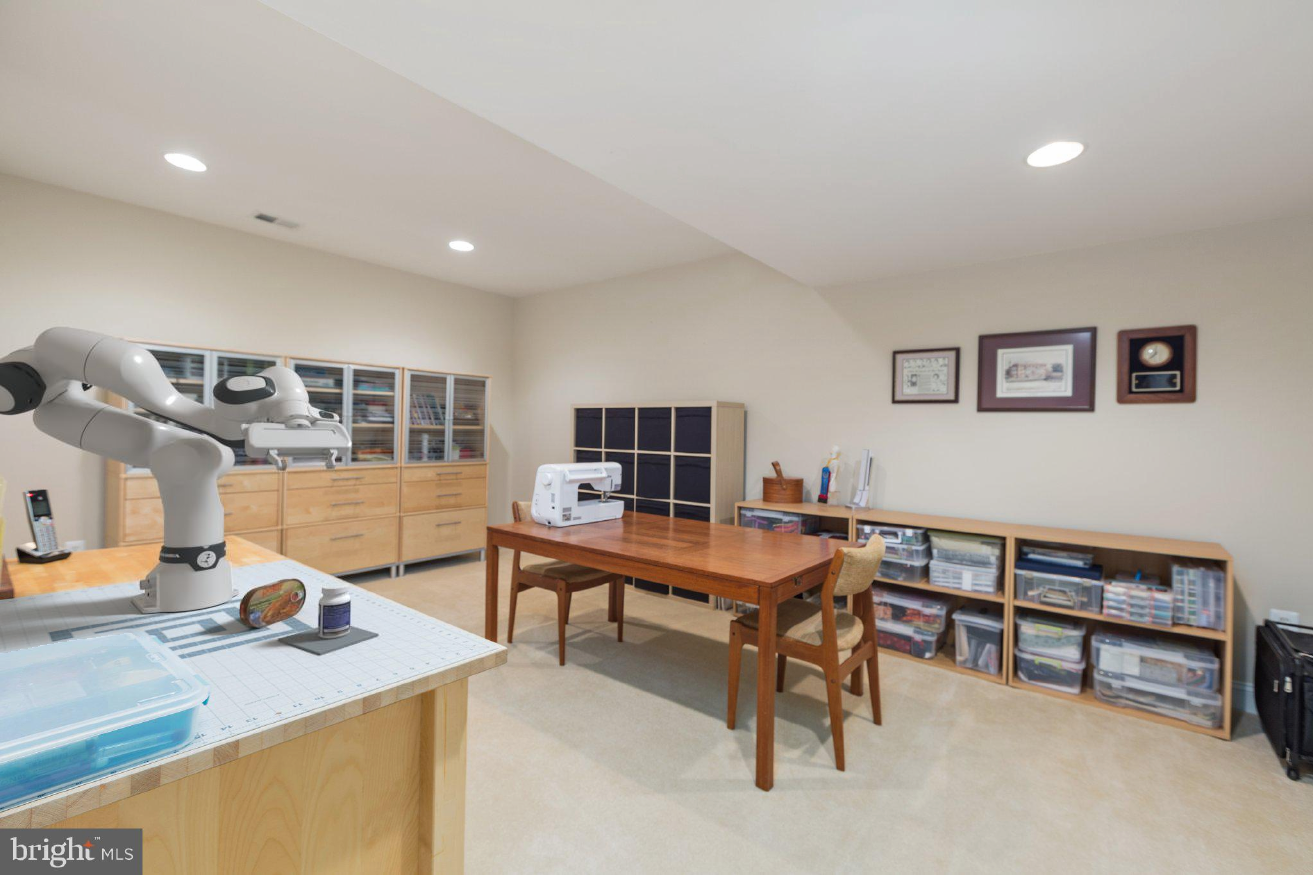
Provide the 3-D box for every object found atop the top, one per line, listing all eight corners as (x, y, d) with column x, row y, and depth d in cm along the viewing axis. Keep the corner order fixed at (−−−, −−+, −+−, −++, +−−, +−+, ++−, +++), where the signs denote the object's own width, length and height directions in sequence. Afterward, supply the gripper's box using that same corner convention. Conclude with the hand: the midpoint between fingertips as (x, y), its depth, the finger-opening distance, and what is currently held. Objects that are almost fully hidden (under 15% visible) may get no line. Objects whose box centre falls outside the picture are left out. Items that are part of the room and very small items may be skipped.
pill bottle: (356, 632, 118) (357, 583, 118) (332, 641, 112) (333, 590, 112) (335, 628, 120) (336, 580, 119) (310, 637, 114) (311, 587, 114)
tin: (248, 633, 117) (249, 592, 117) (235, 632, 117) (236, 591, 117) (307, 611, 131) (307, 574, 131) (295, 610, 132) (296, 573, 132)
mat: (277, 640, 113) (277, 638, 113) (336, 623, 124) (336, 621, 124) (320, 655, 106) (320, 653, 106) (378, 635, 117) (378, 633, 117)
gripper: (241, 410, 121) (253, 459, 114) (345, 414, 136) (360, 457, 130) (235, 431, 124) (246, 480, 117) (337, 433, 139) (352, 476, 133)
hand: (307, 468), depth 124 cm, fingers open, 8 cm apart
